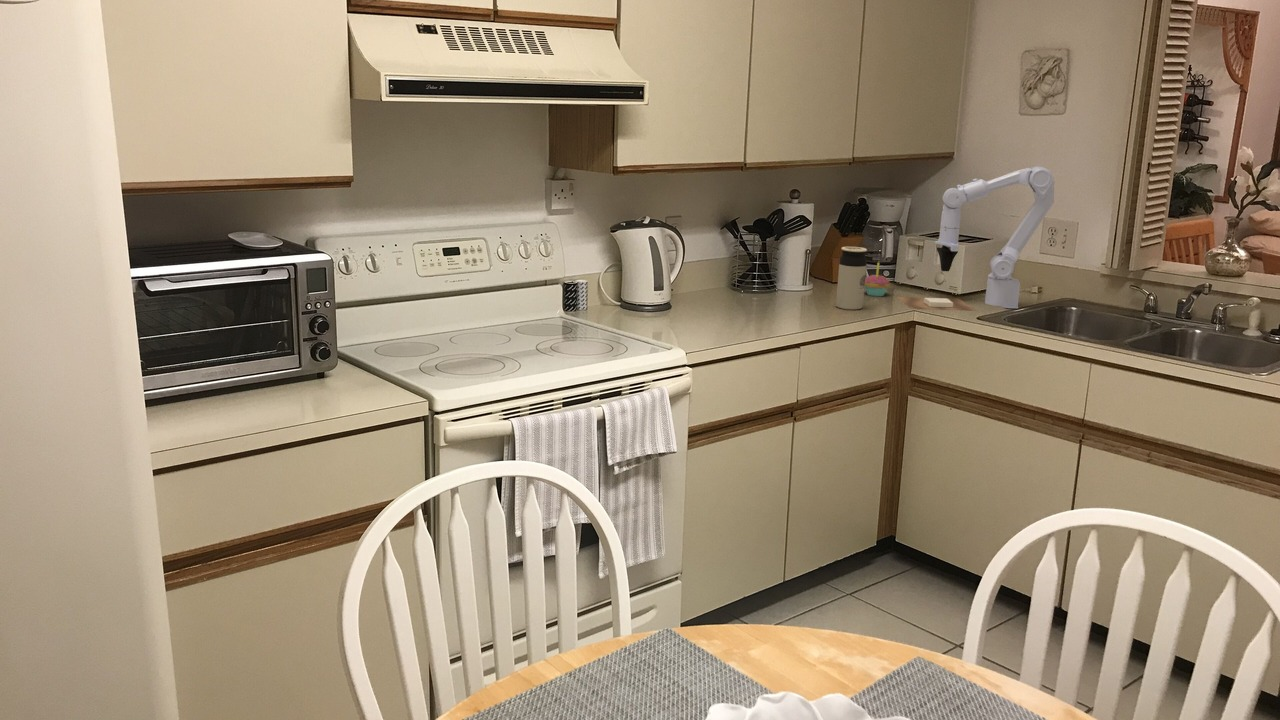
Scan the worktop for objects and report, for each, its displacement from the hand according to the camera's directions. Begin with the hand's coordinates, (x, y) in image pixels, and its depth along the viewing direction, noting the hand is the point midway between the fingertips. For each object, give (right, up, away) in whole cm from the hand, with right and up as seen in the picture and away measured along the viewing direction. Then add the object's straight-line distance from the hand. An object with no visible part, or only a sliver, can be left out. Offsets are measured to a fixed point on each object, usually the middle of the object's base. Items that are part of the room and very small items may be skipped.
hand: (945, 270), depth 317 cm
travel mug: (-32, -12, -10) cm, 36 cm away
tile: (-4, -9, -4) cm, 11 cm away
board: (-4, -11, -4) cm, 13 cm away
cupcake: (-20, -8, +7) cm, 23 cm away
